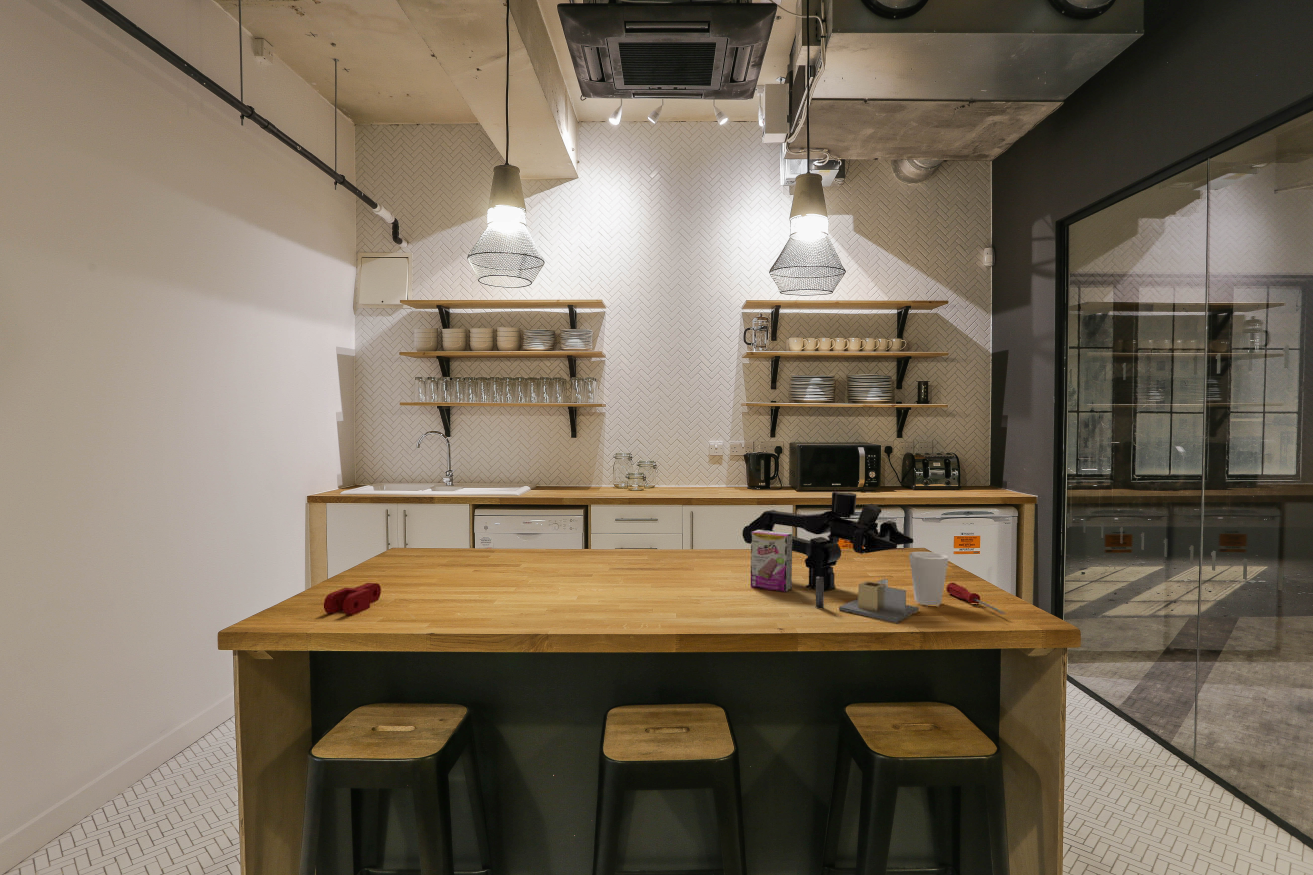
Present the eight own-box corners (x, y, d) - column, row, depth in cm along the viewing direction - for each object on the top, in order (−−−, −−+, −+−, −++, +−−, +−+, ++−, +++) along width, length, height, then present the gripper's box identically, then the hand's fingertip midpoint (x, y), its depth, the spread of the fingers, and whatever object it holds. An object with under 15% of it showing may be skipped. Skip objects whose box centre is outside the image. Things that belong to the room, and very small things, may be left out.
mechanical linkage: (349, 617, 157) (349, 597, 157) (323, 615, 158) (323, 595, 158) (388, 600, 173) (388, 581, 173) (365, 598, 174) (365, 580, 174)
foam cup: (906, 605, 171) (907, 556, 170) (910, 597, 179) (911, 550, 179) (946, 610, 166) (946, 560, 166) (948, 601, 174) (949, 553, 174)
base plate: (839, 610, 165) (839, 606, 165) (863, 599, 175) (863, 596, 175) (896, 623, 155) (896, 618, 155) (918, 611, 165) (918, 607, 165)
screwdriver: (997, 620, 158) (997, 606, 158) (945, 594, 183) (945, 581, 183) (1011, 620, 158) (1011, 606, 158) (956, 594, 183) (957, 581, 183)
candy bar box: (749, 587, 188) (750, 531, 188) (756, 583, 192) (757, 529, 192) (786, 593, 182) (786, 535, 182) (792, 589, 186) (793, 532, 186)
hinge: (858, 607, 164) (858, 584, 164) (876, 599, 172) (877, 577, 172) (900, 616, 157) (901, 592, 157) (918, 607, 165) (918, 584, 165)
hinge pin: (814, 607, 168) (814, 577, 168) (817, 605, 169) (818, 575, 169) (821, 609, 166) (821, 578, 166) (824, 607, 168) (825, 576, 168)
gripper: (836, 506, 174) (890, 518, 162) (870, 499, 186) (923, 509, 175) (833, 546, 175) (886, 561, 164) (867, 536, 188) (920, 549, 176)
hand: (905, 543), depth 170 cm, fingers open, 9 cm apart
